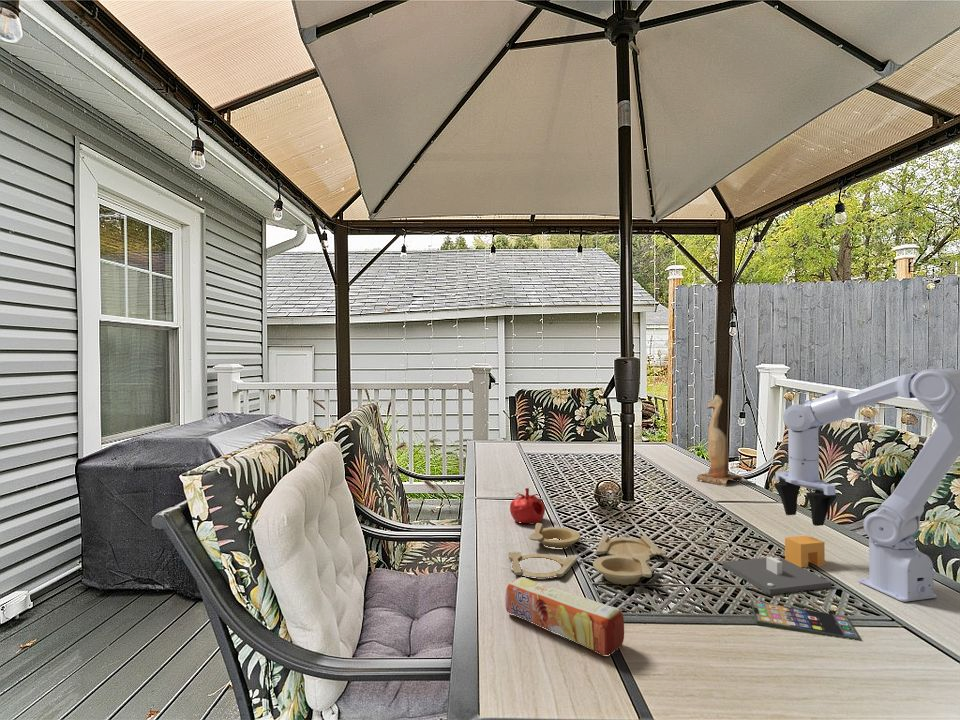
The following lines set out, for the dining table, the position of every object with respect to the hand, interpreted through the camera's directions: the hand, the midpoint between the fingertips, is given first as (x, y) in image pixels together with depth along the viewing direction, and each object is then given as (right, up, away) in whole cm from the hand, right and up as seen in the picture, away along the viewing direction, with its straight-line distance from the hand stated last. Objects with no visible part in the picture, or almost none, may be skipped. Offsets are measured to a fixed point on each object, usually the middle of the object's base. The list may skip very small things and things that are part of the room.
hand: (804, 519), depth 117 cm
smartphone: (-16, -10, -26) cm, 32 cm away
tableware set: (-48, -11, +4) cm, 49 cm away
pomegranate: (-58, -10, +32) cm, 67 cm away
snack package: (-58, -11, -28) cm, 65 cm away
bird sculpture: (+16, -9, +76) cm, 78 cm away
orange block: (0, -10, 0) cm, 10 cm away
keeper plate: (-11, -10, -7) cm, 16 cm away
